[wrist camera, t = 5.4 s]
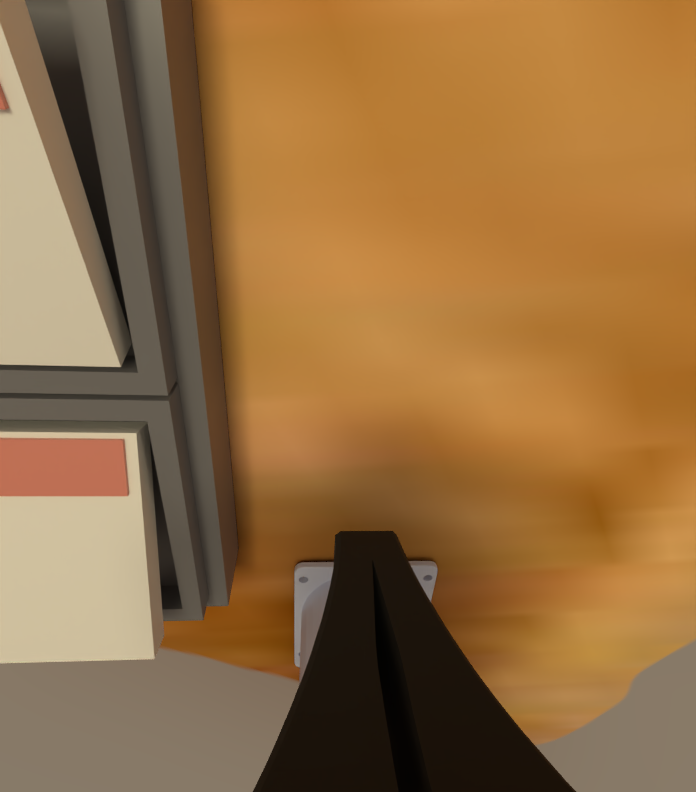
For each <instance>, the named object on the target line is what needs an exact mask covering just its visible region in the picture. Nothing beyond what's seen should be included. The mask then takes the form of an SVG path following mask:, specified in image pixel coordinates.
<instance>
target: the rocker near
mask: <svg viewBox="0 0 696 792" xmlns="http://www.w3.org/2000/svg"><path fill="white" fill-rule="evenodd" d="M131 344H132V340H131V337H130V334H129V331H128V327H127V324H126V321H125V318H124V315H123V312H122V308H121V305H120V302H119V299H118V296H117V292H116V289H115V286H114V283H113V280H112V276H111V273H110V270H109V267H108V264H107V261H106V257H105V254H104V251H103V248H102V245H101V241H100V238H99V235H98V232H97V229H96V226H95V222H94V219H93V216H92V213H91V210H90V206H89V203H88V200H87V197H86V194H85V190H84V187H83V184H82V181H81V178H80V175H79V171H78V168H77V165H76V162H75V159H74V155H73V152H72V149H71V146H70V143H69V139H68V136H67V133H66V130H65V127H64V124H63V120H62V117H61V114H60V111H59V108H58V104H57V101H56V98H55V95H54V92H53V88H52V85H51V82H50V79H49V76H48V73H47V69H46V66H45V63H44V60H43V57H42V53H41V50H40V47H39V44H38V41H37V37H36V34H35V31H34V28H33V25H32V22H31V18H30V15H29V12H28V9H27V6H26V2H25V0H0V364H1V365H47V366H94V367H121V366H122V364H123V362H124V359H125V357H126V355H127V353H128V351H129V348H130V346H131Z"/></svg>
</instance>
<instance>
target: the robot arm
mask: <svg viewBox="0 0 696 792" xmlns="http://www.w3.org/2000/svg"><path fill="white" fill-rule="evenodd" d="M437 572H438V569H437V565H436V563H435V562H433V561H408V559H407V557H406V555H405V553H404V551H403V549H402V547H401V544H400V542H399V540H398V537H397V535H396V534H395V533H394V532H393V531H340V532H339V533H338V534H336V535H335V550H334V562H302V563H299V564H297V565H296V566H295V570H294V658H295V665H296V666H297V667H300V683H299V688H298V690H297V693H296V695H295V698H294V701H293V703H292V706H291V708H290V711H289V713H288V715H287V718H286V720H285V722H284V725H283V727H282V729H281V732H280V734H279V736H278V739H277V741H276V743H275V746H274V748H273V750H272V753H271V755H270V757H269V759H268V761H267V763H266V766H265V768H264V770H263V772H262V774H261V776H260V778H259V780H258V782H257V784H256V787H255V789H254V791H253V792H576V791H575V790H574V789H573V788H572V787H571V786H570V785H569V784H568V783H567V782H566V781H565V780H564V778H563V777H562V776H561V775H560V774H559V773H558V771H557V770H556V769H555V768H554V767H553V766H552V765H551V763H550V762H549V761H548V760H547V759H546V758H545V757H544V755H543V754H542V753H541V752H540V751H539V750H538V749H537V747H536V746H535V745H534V744H533V743H532V742H531V741H530V739H529V738H528V737H527V736H526V735H525V734H524V733H523V731H522V730H521V729H520V728H519V727H518V725H517V724H516V723H515V722H514V720H513V719H512V718H511V717H510V715H509V714H508V713H507V712H506V710H505V709H504V708H503V707H502V705H501V704H500V703H499V702H498V700H497V699H496V698H495V696H494V695H493V694H492V692H491V691H490V690H489V688H488V687H487V686H486V685H485V683H484V682H483V681H482V679H481V678H480V676H479V675H478V674H477V672H476V671H475V670H474V668H473V667H472V665H471V664H470V662H469V661H468V660H467V658H466V657H465V655H464V654H463V652H462V651H461V649H460V648H459V646H458V645H457V643H456V642H455V640H454V639H453V637H452V636H451V634H450V633H449V631H448V630H447V628H446V626H445V625H444V623H443V622H442V620H441V618H440V617H439V615H438V613H437V612H436V610H435V608H434V607H433V605H432V603H431V599H432V595H433V590H434V586H435V581H436V577H437Z"/></svg>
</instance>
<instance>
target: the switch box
mask: <svg viewBox="0 0 696 792" xmlns="http://www.w3.org/2000/svg"><path fill="white" fill-rule="evenodd" d="M25 2H26V6H27V9H28V12H29V15H30V18H31V22H32V25H33V28H34V31H35V34H36V37H37V41H38V44H39V47H40V50H41V53H42V57H43V60H44V63H45V66H46V69H47V73H48V76H49V79H50V82H51V85H52V88H53V92H54V95H55V98H56V101H57V104H58V108H59V111H60V114H61V117H62V120H63V124H64V127H65V130H66V133H67V136H68V139H69V143H70V146H71V149H72V152H73V155H74V159H75V162H76V165H77V168H78V171H79V175H80V178H81V181H82V184H83V187H84V190H85V194H86V197H87V200H88V203H89V206H90V210H91V213H92V216H93V219H94V222H95V226H96V229H97V232H98V235H99V238H100V241H101V245H102V248H103V251H104V254H105V257H106V261H107V264H108V267H109V270H110V273H111V276H112V280H113V283H114V286H115V289H116V292H117V296H118V299H119V302H120V305H121V308H122V312H123V315H124V318H125V321H126V324H127V327H128V331H129V334H130V337H131V340H132V344H131V346H130V348H129V351H128V353H127V355H126V357H125V359H124V362H123V364H122V366H121V367H94V366H47V365H1V364H0V420H33V421H114V422H147V423H148V428H149V435H150V449H151V463H152V476H153V490H154V504H155V517H156V531H157V545H158V558H159V572H160V586H161V599H162V613H163V621H185V620H204V615H205V611H206V606H228V605H229V599H230V593H231V588H232V582H233V576H234V571H235V565H236V559H237V554H238V548H239V547H238V536H237V524H236V513H235V501H234V490H233V478H232V466H231V455H230V443H229V432H228V420H227V408H226V397H225V385H224V374H223V362H222V351H221V339H220V327H219V316H218V304H217V293H216V281H215V270H214V258H213V246H212V235H211V223H210V212H209V200H208V189H207V177H206V165H205V154H204V142H203V131H202V119H201V108H200V96H199V84H198V73H197V61H196V50H195V38H194V27H193V15H192V3H191V0H25Z"/></svg>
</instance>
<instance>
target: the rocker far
mask: <svg viewBox="0 0 696 792" xmlns="http://www.w3.org/2000/svg"><path fill="white" fill-rule="evenodd" d="M163 637H164V627H163V613H162V599H161V586H160V572H159V558H158V545H157V531H156V517H155V504H154V490H153V476H152V463H151V449H150V435H149V428H148V423H147V422H114V421H33V420H0V663H24V662H62V661H98V660H133V659H134V660H135V659H155V657H156V654H157V651H158V649H159V647H160V644H161V642H162V639H163Z"/></svg>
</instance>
